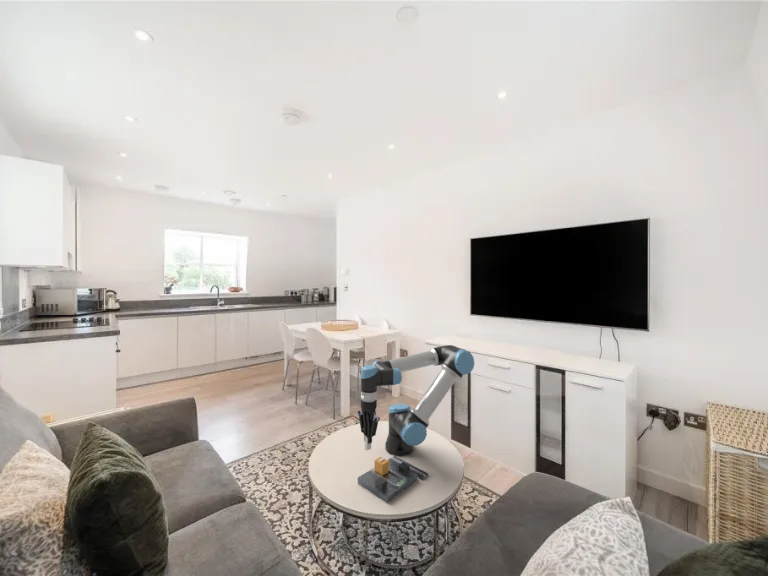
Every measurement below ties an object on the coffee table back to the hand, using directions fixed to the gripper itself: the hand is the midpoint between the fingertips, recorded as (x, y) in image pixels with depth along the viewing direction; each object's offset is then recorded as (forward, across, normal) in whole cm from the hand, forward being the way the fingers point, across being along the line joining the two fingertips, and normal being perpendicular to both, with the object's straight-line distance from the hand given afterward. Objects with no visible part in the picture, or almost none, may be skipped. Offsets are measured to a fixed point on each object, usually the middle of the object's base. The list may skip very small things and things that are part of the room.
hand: (367, 449), depth 150 cm
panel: (+10, +13, 0) cm, 16 cm away
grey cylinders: (+10, +13, +14) cm, 22 cm away
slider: (+7, +9, 0) cm, 11 cm away
